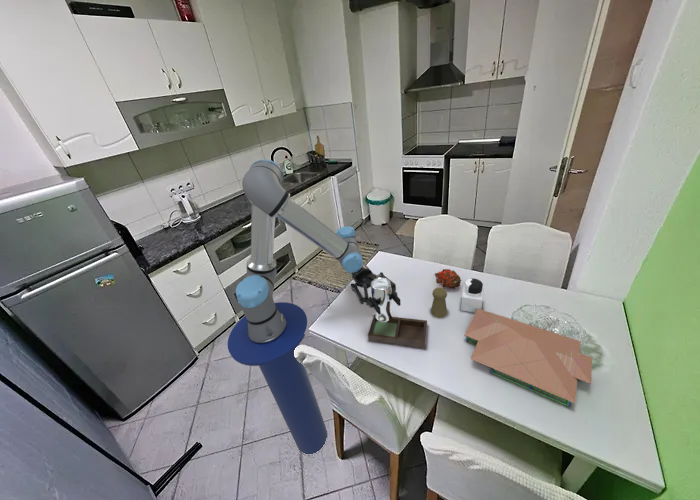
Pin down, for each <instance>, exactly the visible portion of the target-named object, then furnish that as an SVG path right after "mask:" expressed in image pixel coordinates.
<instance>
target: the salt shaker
mask: <svg viewBox="0 0 700 500" xmlns="http://www.w3.org/2000/svg"><path fill="white" fill-rule="evenodd" d="M431 294H432V297H433V300H432V304H431V309H430V314H431V316H433V317H435V318H441V319H442V318H445V317H446V316H447V315H448V309H447V301H446V300H447V296H448V292H447V290H446V289H445V288H444V287H439V286H438V287H435V288H434V289H433V290H432V293H431Z"/></svg>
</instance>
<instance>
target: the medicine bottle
mask: <svg viewBox="0 0 700 500" xmlns="http://www.w3.org/2000/svg"><path fill="white" fill-rule="evenodd" d="M464 282H465V283H464V285H463V288H462V294H461V302H460V310H461V311H463V312H469V313H474V314H475V312H476V310H477V308H478V309H481V310H483V309H482V307H483V302H484V291H485V290H484V289H485V288H483V286H484V283H483V282H482V280H480V279H478V278H473V277H471V278H468V279H465V281H464Z"/></svg>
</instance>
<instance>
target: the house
mask: <svg viewBox="0 0 700 500" xmlns="http://www.w3.org/2000/svg"><path fill="white" fill-rule="evenodd" d="M464 337H466V342H468V343H470V344H473V345H475V347H474V350H473V351H472V355H471V357H470V360H472V361H475V362H476V363H479V364H481V365H483V366H486V367H488V368H491V373H492V374H494V375H496V376H498V377H500V378H503V379H505V380H506V381H507V380H508V381H510V382H512V383H514V384H516V385H518V386H521V387H523V388H525V389H527V390H530V391H533V392H535V393H537V394H539V395H541V396H544V397H546V398H549V399H551V400H553V401H556V402H558V403H560V404H562V405H565V406H567V407H569V405H570V403H573V404H576V397H577V389H578V388H577V387H578V380H580V381H582V382H584V383H588V384H592V367H593V357H592V356H590V355H587V354H584V353H581V341H580V340H578V339H576V338H575V339H574V338H572V337H569V336H566V335H562V334H559V333H556V332H552V331H550V330H547V329H543V328H540V327H537V326H534V325H531V324H529V323H525V322H522V321H518V320H515V319H512V318H509V317H506V316H503V315H500V314H497V313H494V312H490V311H487V310H484V309H478V308H477V310H476V312H475V313H474V314H473V317H472V318H471V321H470V323H469V324H468V327H467V329H466V331H465V333H464ZM471 340H472V342H471ZM473 341H474V342H473ZM475 342H476V343H475ZM494 371H495V372H494ZM497 372H498V373H497ZM499 373H500V374H501V375H499ZM502 375H504V376H502ZM505 376H507V377H505ZM508 378H509V379H508ZM511 378H512V379H513V380H511ZM514 380H516V381H515V382H514ZM518 381H519V382H520V383H518ZM521 383H523V384H521ZM524 384H526V386H525V385H524ZM527 386H528V387H527ZM532 388H534V390H533V389H532ZM536 389H537V391H535V390H536ZM539 390H540V391H541V392H539ZM542 391H543V392H544V394H542ZM546 393H547V395H545V394H546ZM549 395H551V396H549ZM553 396H554V397H555V398H559V399H558V400H557V399H555V398H553ZM560 399H561V400H562V401H565V403H563V402H561V401H560ZM566 403H567V404H566Z"/></svg>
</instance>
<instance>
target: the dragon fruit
mask: <svg viewBox="0 0 700 500" xmlns="http://www.w3.org/2000/svg"><path fill="white" fill-rule="evenodd" d="M434 276H435V278H436V281H435V282H436V284H437V285H438V284H442V288H443V289H445V288H446V289H455V288H459V287H461V282H462V279H461V276H460V275H459V274H458V273H457V272H456V271H455V270H454V269H452V270H451V269H449V268H446V269H445V268H443V269H442V270H440V271H438V272H435V273H434Z"/></svg>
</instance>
